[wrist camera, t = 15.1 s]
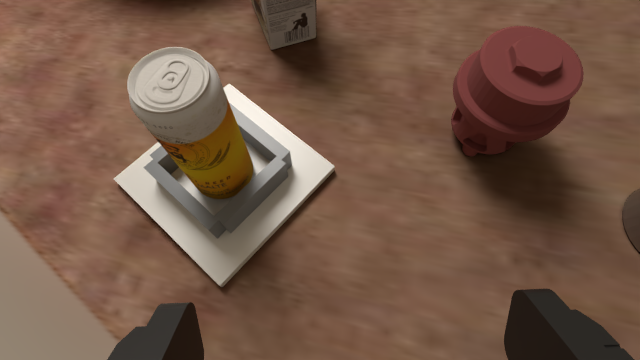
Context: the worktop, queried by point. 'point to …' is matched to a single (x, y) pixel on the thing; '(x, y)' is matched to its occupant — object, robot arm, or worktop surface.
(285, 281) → the worktop surface
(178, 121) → the beer can
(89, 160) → the worktop surface
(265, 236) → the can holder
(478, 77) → the mechanical component
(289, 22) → the coffee box
